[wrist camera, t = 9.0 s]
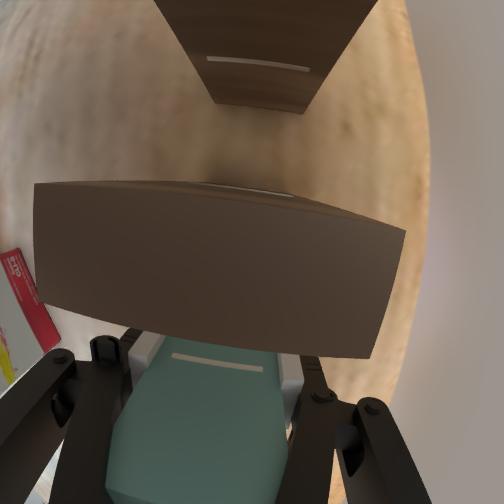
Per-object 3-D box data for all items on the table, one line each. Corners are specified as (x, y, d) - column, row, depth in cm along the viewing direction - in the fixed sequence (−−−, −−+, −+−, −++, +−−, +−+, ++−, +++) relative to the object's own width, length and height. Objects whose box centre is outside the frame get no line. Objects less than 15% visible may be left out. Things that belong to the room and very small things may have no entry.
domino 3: (190, 293, 17) (85, 477, 4) (273, 305, 17) (293, 519, 4) (188, 321, 17) (101, 506, 5) (268, 333, 17) (276, 539, 5)
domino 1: (220, 75, 14) (147, -99, 2) (306, 86, 14) (393, -82, 2) (214, 103, 15) (114, -57, 2) (302, 115, 15) (406, -38, 2)
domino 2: (202, 181, 16) (34, 180, 3) (291, 193, 16) (407, 226, 3) (198, 214, 16) (38, 303, 4) (286, 226, 16) (368, 362, 4)
